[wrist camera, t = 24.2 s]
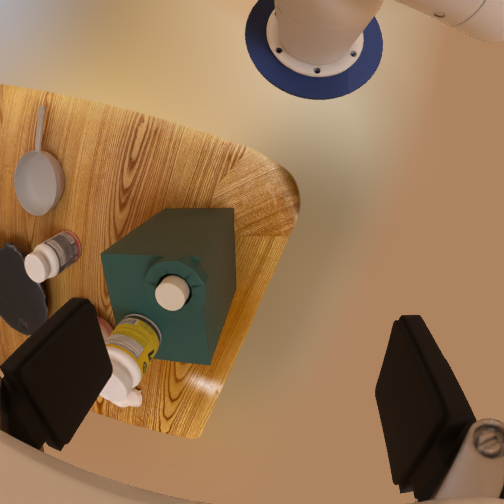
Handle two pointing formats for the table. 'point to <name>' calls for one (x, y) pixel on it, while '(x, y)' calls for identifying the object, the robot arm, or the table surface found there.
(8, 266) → the board
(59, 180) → the small pan
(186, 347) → the teal box with knob
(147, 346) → the supplement bottle
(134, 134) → the table surface
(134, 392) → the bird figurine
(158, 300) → the round beige push button
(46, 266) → the pill bottle
